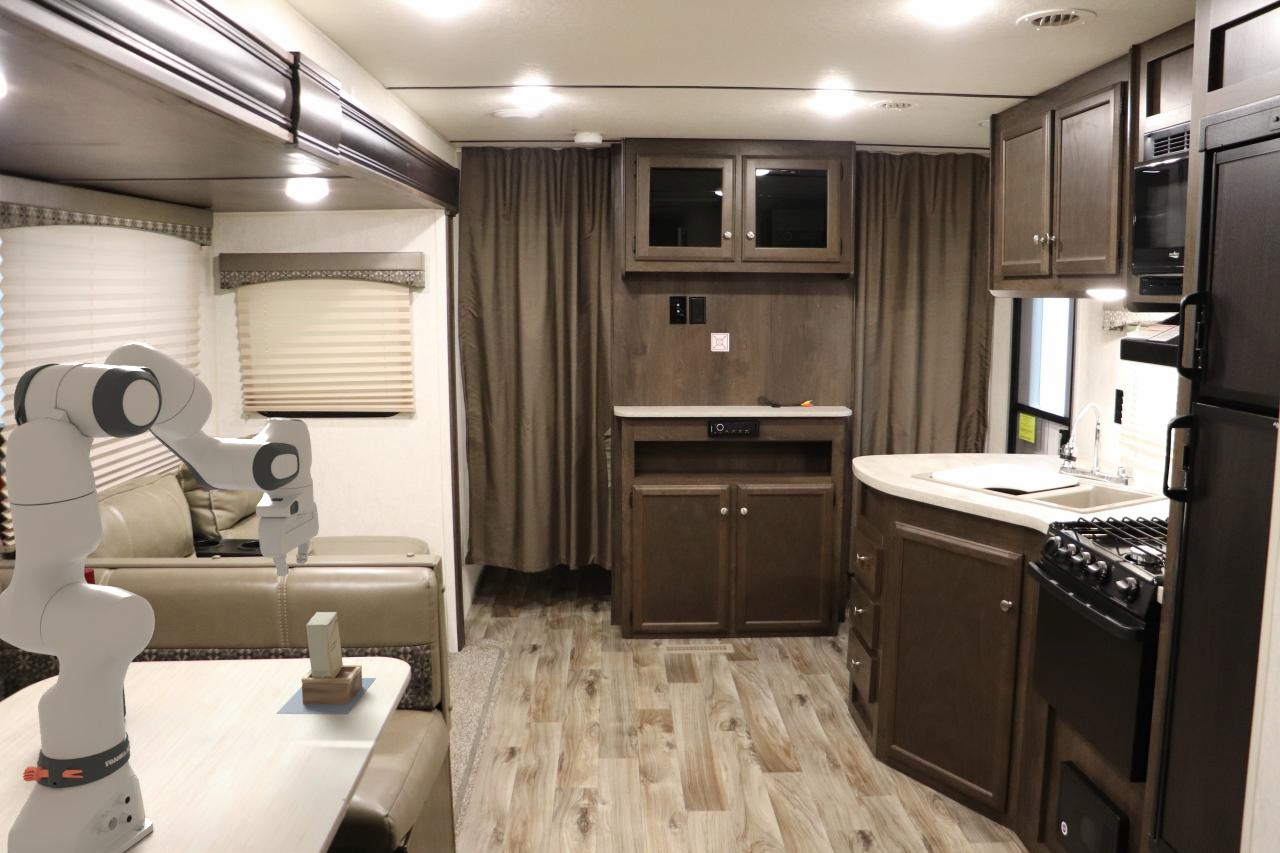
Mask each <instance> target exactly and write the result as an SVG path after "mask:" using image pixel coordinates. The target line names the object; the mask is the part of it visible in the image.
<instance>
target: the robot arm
mask: <svg viewBox="0 0 1280 853" xmlns="http://www.w3.org/2000/svg"><path fill="white" fill-rule="evenodd" d="M13 409H14V410H13V411H14V420H15V423H16V425H17V427H16V428H14V429H13V430H12V431H11V433H10V434H9V436H8V438H7V441H6V450H5V451H6V454H5V472H6V473H5V478H6V479H5V480H6V491H7V496H8V497H7V498H8V501H9V502H8V503H9V508H10V516H11V521H12V528H13V536H14V543H15V562H14V569H13V574H12V578H11V580H10V583H9V585H8V586H7V588H6V589H4V590H3V591H2V592H1V593H0V640H2V641H4V642H5V643H7V644H9V645H12V646H13V647H16V648H18V649H20V650H23V651H24V652H29V653H35V654H41V655H47V656H54V657H55V656H56V657H57V659H58V664H59V663H60V669H59V672H58V677H57V681H56V683H54V684H53V685H52V686H50V687H49V688H48V689H47V690H46V691H44V693H43V694H42V695H41V697H40V699H39V701H38V704H37V705H38V706H37V709H38V710H37V712H38V722H39V732H40V741H41V742H40V744H41V749H40V750H39V754H38V759H37V760H36V766H35V767H34V766H27V767H26V768H25V769H24V770H23V774H22V775H23V776H22V778H23V780H24V782H33V781H34V782H35V785H34V787H33V788H32V790H31V792H30V794H29V795H28V797H27V798H26V800H25V803H24V804H23V806H22V807H21V809H20V811H19V813H18V815H17V817H16V819H15V821H14V822H13V823H12V826H11V828H10V829H9V832H8V836H7V852H6V853H125V852H126V851H127V850H129V849H130V848H131V847H133V846H134V845H135V844H137V843H138V842H139V841H141V840H142V839H144V837H146V836H148V835H149V834H150V833H151V832H152V831H154V824H153V821H152V820H150V819H149V818H148V817H146V812H145V808H144V800H143V796H142V791H141V789H142V788H141V785H140V784H141V783H140V781H139V778H138V776H137V775H136V774H135V772H134V770H133V768H132V767H131V764H130V762H129V759H130V757H131V750H130V749H131V743H130V742H131V741H130V739H129V734H128V732H126V729H125V717H124V711H123V685H124V684H125V679H126V676H127V672H128V669H129V667H130V665H131V663H132V661H133V660H134V659H135V658H136V657H137V656H138V655H140V654H141V653H142V652H143V651H144V650H146V647H147V646H148V645H149V643H150V641H151V639H152V638H153V635H154V631H155V625H156V619H155V611H154V609H153V607H152V604H151V603H150V602H149V601H148V600H147V598H145V597H143V596H141V595H138V594H137V593H134V592H132V591H129V590H126V589H124V588H121V587H119V586H118V587H117V586H111V585H110V586H109V585H103V584H102V585H101V584H96V583H95V584H88V583H87V582H86V580H85V577H84V569H85V565H86V560H87V557H88V556H89V555H91V554H92V553H93V552H95V550H96V549H97V548H98V547H99V546H100V545H101V542H102V541H103V537H104V529H103V523H102V517H101V510H100V504H99V498H98V489H97V484H96V480H95V479H96V478H95V474H94V469H93V465H92V462H91V458H90V455H91V453H90V452H91V449H92V445H93V442H94V440H95V438H96V439H97V438H99V439H100V438H116V439H117V438H118V439H125V438H130V437H135V436H139V435H141V434H144V433H146V432H147V431H149V432H150V434H152V435H153V437H155V439H157V440H158V441H159V442H160V443H161V444H162V445H163V446H164V447H166V448H167V449H168V450H169V451H170V452H171V453H172V454H174V455H175V456H176V457H177V458H178V459H180V460H181V461H182V463H184V465H185V466H186V467H187V469H188V470H189V471H190V472H189V473H190V474H191V476H192V477H193V479H194V480H195V482H196V483H197V484H198V485H199V486H200V487H201V488H203V489H204V490H208V491H221V490H222V491H223V490H224V491H225V490H230V491H231V490H232V491H241V492H242V491H244V492H251V491H252V492H263V496H262V498H261V500H260V501H259V502H258V504H257V505H256V506H255V515H256V517H258V518H259V520H258V525H257V527H258V542H259V550H260V553H261V555H262V556H263V557H264V558H269V559H270V558H272V561H273V563H274V566H275V567H276V575H277V577H286V576H287V575H288V574H289V573H290V568H289V567H290V566H289V565H288V564H287V561H286V559H287V558H288V556H287V554H288V553H290V552H291V551H293V550H294V549H296V548H297V554H296V556H295V558H296V560H295V561H296V563H297V564H300V565H301V564H303V565H304V564H305V563H307V562H309V561H308V559H309V557H308V554H309V551H310V550H309V549H310V545H311V539H314V538H315V537H317V536H318V534H319V530H320V525H319V523H320V522H319V513H318V507H317V504H316V501H315V499H314V481H313V478H312V474H311V467H312V463H313V451H312V442H311V435H310V431H309V427H308V425H307V422H305V421H303V420H302V419H299V418H292V417H291V418H287V417H271V418H267V419H266V420H265V424H264V428H263V429H262V431H261V432H260V433H259V434H257V435H255V436H254V437H252V438H251V439H248V438H246V439H245V438H230V437H229V438H227V437H222V436H221V437H220V436H211V435H208V434H206V433H205V432H204V431H203V430H202V429H203V428H204V426H205V425H206V424H207V422H208V420H210V419H209V418H210V417H211V414H212V409H213V396H212V394H211V392H210V390H209V388H208V387H207V385H206V384H205V383H204V382H203V381H202V380H201V379H200V378H199V377H198V376H197V375H196V374H194V373H193V372H192V371H190V370H189V369H188V368H187V367H186V366H184V365H183V364H182V363H180V362H179V361H177V360H176V359H174V358H173V357H171V356H170V355H168V354H166V353H165V352H163V351H161V350H159V349H156V347H153V346H150V345H149V344H146V343H144V342H143V343H142V342H129V343H126V344H122V345H120V346H118V347H117V348H115V349H114V350H113V351H112V352H111V353H110V354H109V355H108V356H107V358H106V359H105V361H104V362H103V364H95V363H94V362H93V363H91V362H72V363H71V362H70V363H62V364H60V363H47V364H43V365H42V364H41V365H39V366H38V365H37V366H36V367H32V368H30V369H29V370H27V371H25V372H24V373H23V374H22V376H21V377H20V378H19V380H18V382H17V384H16V386H15V390H14V394H13ZM124 686H125V685H124Z"/></svg>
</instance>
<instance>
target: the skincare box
mask: <svg viewBox="0 0 1280 853" xmlns="http://www.w3.org/2000/svg"><path fill="white" fill-rule="evenodd" d="M305 627H306V636H307V645H308V652H309V653H308V654H309V660H310V661H309V662H310V670H311V671H312V678H335V677H336V675H337V674H338V672H339V671H340V669H341V668H342V666H343V665H344V664H343V653H342V646H341V638H340V628H339V621H338V612H337V611H316V612H315V613H314V614H313V616H311V618H310V619H309V621H308V622H307V623H306V625H305Z"/></svg>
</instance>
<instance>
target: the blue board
mask: <svg viewBox="0 0 1280 853" xmlns="http://www.w3.org/2000/svg"><path fill="white" fill-rule="evenodd" d="M376 679H377V677H362V687H361V689H360V690H359V691H358V692H357V694H356V695H355V696H354V697H353V699H352V700H351V701H350V702H349V704H303V697H302V686H301V687H300V688H299V689H298V690H296V692H295V693H294V694H293V695H292V696H291V697H290V698H289V699H288V700H287V701H286V702H285V703H284V704H283V705H282V707H281V708H280V709H279V710H277V712H276V714H288V715H289V714H293V715H297V714H298V715H300V714H301V715H306V714H307V715H349V714H350V713H351V711H352V710H353V708H354V707H355V706H356V705H357V703H358V702H359V701H360V700H361V698H362V697H363V696H364V694H365V693H366V692H367V691H368V689H369V688H370V687H371V686H372V684H373V683H374V682H375V680H376Z"/></svg>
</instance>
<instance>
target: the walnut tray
mask: <svg viewBox="0 0 1280 853" xmlns="http://www.w3.org/2000/svg"><path fill="white" fill-rule="evenodd" d="M362 668H363V666H362V665H361V664H360V665H359V664H357V665H356V664H355V665H352V664H347V665H345V664H343V666H342V668H341V669H340V671H339V672H338V674H337V675H336V677H335V678H312V671H311V669H310V670H309V671H308V672H307V673H306V674H305V675H304V676H303V677H301V687H302V697H303V704H349V702H350V701H351V700H352V699H353V697H354V696H355V695H356V694H357V692H358V691H359V690H360V689H361V687H362V678H363V672H362V670H363V669H362Z"/></svg>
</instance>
